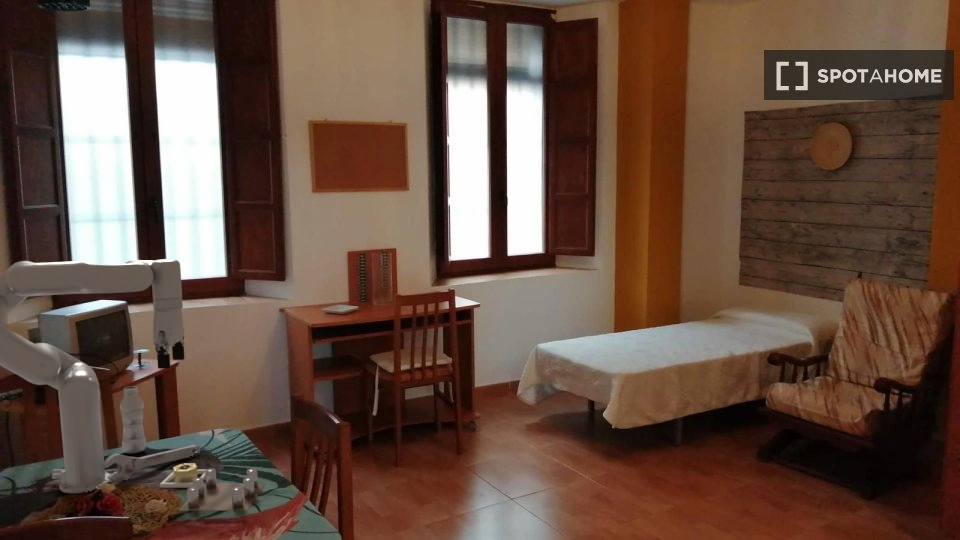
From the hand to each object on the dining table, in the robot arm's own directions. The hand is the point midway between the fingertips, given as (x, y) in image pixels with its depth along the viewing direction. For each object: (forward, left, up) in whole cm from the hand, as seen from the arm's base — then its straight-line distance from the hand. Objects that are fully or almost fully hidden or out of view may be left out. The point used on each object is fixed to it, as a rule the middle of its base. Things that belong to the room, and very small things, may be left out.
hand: (171, 363), depth 212 cm
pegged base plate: (+21, -22, -29) cm, 42 cm away
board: (+21, -22, -30) cm, 43 cm away
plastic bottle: (-18, +12, -31) cm, 37 cm away
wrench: (-6, -1, -31) cm, 31 cm away
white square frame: (+7, -11, -30) cm, 33 cm away
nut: (+7, -11, -30) cm, 33 cm away
